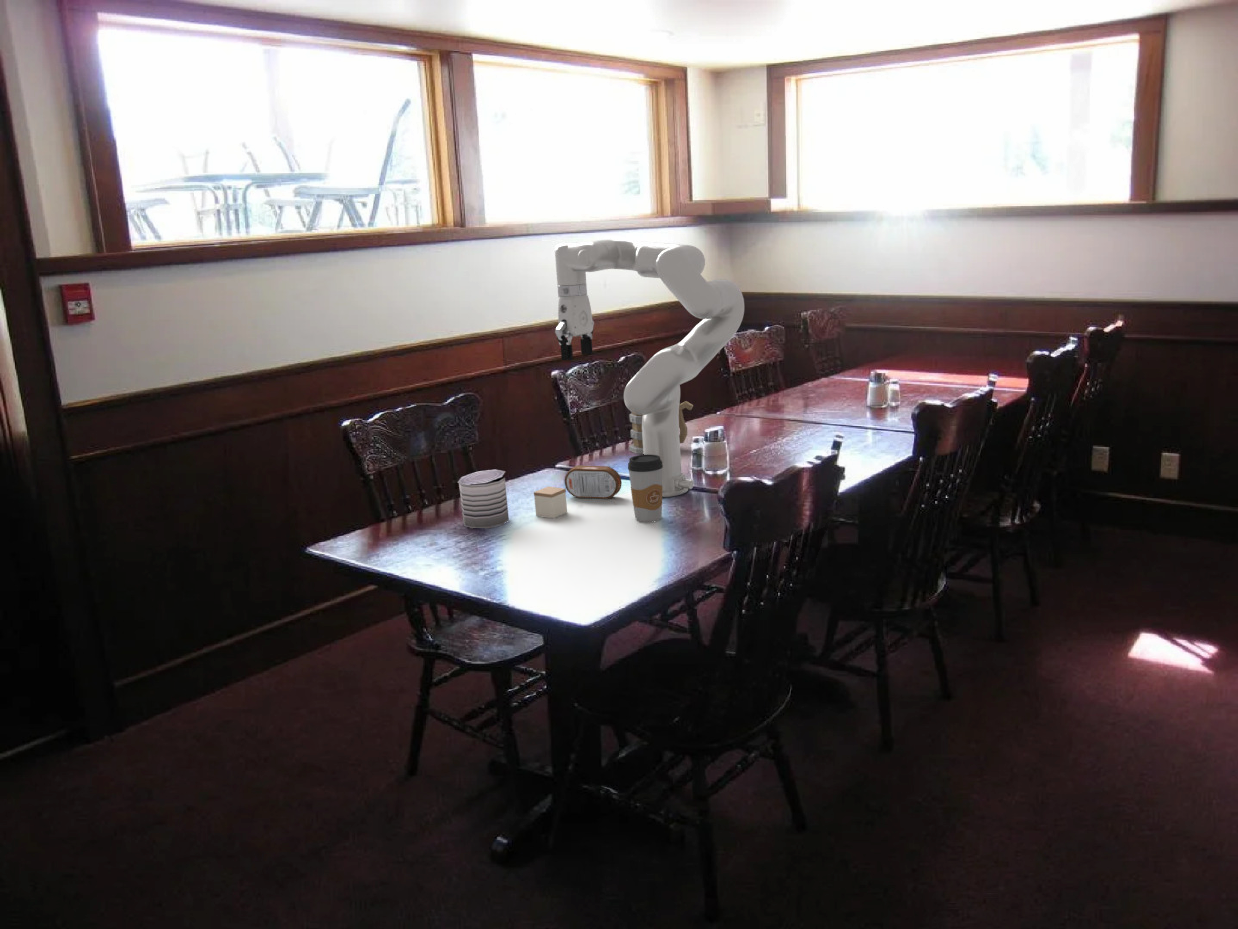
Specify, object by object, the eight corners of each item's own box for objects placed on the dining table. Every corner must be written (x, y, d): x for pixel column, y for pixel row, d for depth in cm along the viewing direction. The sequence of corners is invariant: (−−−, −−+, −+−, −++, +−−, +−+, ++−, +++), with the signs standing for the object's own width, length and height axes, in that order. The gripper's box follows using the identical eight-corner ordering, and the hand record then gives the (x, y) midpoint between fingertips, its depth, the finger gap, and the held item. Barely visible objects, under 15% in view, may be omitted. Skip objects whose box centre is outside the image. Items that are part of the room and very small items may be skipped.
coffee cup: (641, 526, 249) (637, 464, 246) (625, 518, 256) (620, 457, 253) (672, 519, 253) (668, 458, 249) (655, 511, 260) (651, 452, 256)
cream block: (567, 512, 265) (565, 488, 264) (553, 518, 261) (551, 494, 259) (550, 509, 268) (548, 486, 267) (535, 515, 264) (533, 492, 262)
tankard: (624, 454, 321) (621, 405, 318) (639, 444, 332) (636, 397, 329) (687, 455, 314) (685, 405, 310) (700, 446, 325) (698, 397, 321)
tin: (623, 497, 275) (620, 465, 273) (619, 500, 272) (616, 468, 270) (568, 495, 280) (566, 464, 278) (564, 498, 277) (561, 467, 275)
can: (506, 527, 256) (501, 479, 253) (459, 530, 256) (454, 482, 253) (511, 514, 267) (507, 467, 264) (466, 516, 267) (461, 470, 264)
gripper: (566, 294, 267) (571, 362, 272) (601, 287, 282) (606, 352, 286) (541, 295, 271) (547, 362, 275) (577, 288, 286) (582, 351, 290)
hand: (577, 356), depth 281 cm, fingers open, 9 cm apart
